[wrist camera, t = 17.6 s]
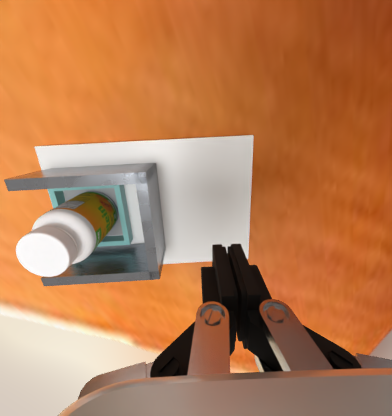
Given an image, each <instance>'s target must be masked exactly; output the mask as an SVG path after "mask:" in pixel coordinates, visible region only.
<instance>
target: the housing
mask: <svg viewBox="0 0 392 416" xmlns="http://www.w3.org/2000/svg"><path fill="white" fill-rule="evenodd" d="M4 181H5V183H6V186H7V189H8V191H18V190H36V189H54V188H73V187H91V186H109V185H127V184H136V190H137V197H138V203H139V210H140V216H141V223H142V229H143V236H144V243H142V244H130V245H117V246H100V247H96V248H95V249H94V251H93V252H92V253H91V254H90V255H89V256H88V257H87V258H86V259H84V260H82V261H81V262H78V263H75V264H71V265H70V266H69V267H68V268H67V269H66V270H65V271H64V272H63V273H61V274H59V275H57V276H53V277H44V276H43V277H42V278H41V280H42V282H43V285H44V286H55V285H71V284H88V283H104V282H121V281H137V280H154V279H160V276H161V271H162V266H163V261H164V256H165V251H166V245H165V236H164V228H163V219H162V210H161V201H160V192H159V184H158V175H157V166H156V163H141V164H122V165H104V166H85V167H67V168H49V169H45V170H41V171H37V172H33V173H29V174H25V175H21V176H17V177H13V178H9V179H5V180H4Z"/></svg>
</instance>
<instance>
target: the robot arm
mask: <svg viewBox="0 0 392 416" xmlns="http://www.w3.org/2000/svg"><path fill="white" fill-rule="evenodd" d="M201 277H202V298H203V304H202V305H201V306H200V307H199V308H198V311H197V314H196V321H195V322H194V323H193V324H192V325H191V326H190V327H189V328H188V329H186V330H185V331H184V332H183V333H182V334H181V335H180V336H179V337H178V338H177V339H176V340H175V341H174V342H173V343H172V344H171V345H170V346H168V347H167V348H166V349H165V350H164V351H163V352H162V353H161V354H160V355H159V356H158V357H157V359H155V361H154V362H152V363H148V364H146V363H145V362H142V363H139V364H135V365H132V366H129V367H125V368H122V369H119V370H115V371H112V372H108V373H105V374H101V375H98V376H96V377H94V378H92V379H91V380H90V381H89V382H87V383H86V385H85V386H84V388H83V389H82V390H81V392H80V395H79V397H78V400H77V401H76V402H74V403H72V404H71V405H70V406H68V407H67V408H66V409H65V410H63V411H62V412H61V413H60V414H59V415H58V416H392V360H390V359H385V358H379V357H374V356H368V355H363V354H358V353H356V355H355V356H353V355H351V354H350V353H349V352H348V351H346V350H345V349H343V348H341V347H340V346H338V345H336V344H335V343H333V342H331V341H329V340H328V339H326V338H324V337H323V336H321V335H319V334H317V333H316V332H314V331H312V330H310V329H309V328H307V327H305V326H304V325H302V324H301V323H300V321H299V320H298V318H297V317H296V316H295V314H294V313H293V311H292V310H291V309H290V308H289V306H288V305H286V304H285V303H283V302H281V301H279V300H275V299H272V298H271V296H270V294H269V291H268V289H267V287H266V285H265V283H264V280H263V278H262V276H261V274H260V271H259V269H258V267H257V266H256V265H249V263H248V261H247V258H246V256H245V253H244V251H243V248H242V246H241V244H231V246H228V249H227V251H226V247H222V244H215V245H212V267H201ZM236 332H237V337H238V341H242V342H243V347H244V349H248V350H249V351H251V352H252V353H253V354H254V358H255V361H256V364H257V366H258V369H259V371H260V372H254V373H230V355H231V354H232V353H233V351H234V349H235V341H236Z"/></svg>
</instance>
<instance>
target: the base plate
mask: <svg viewBox="0 0 392 416" xmlns="http://www.w3.org/2000/svg"><path fill="white" fill-rule="evenodd" d="M253 139H254V135H243V136H223V137H204V138H185V139H166V140H147V141H128V142H109V143H90V144H71V145H52V146H36V147H35V150H36V153H37V157H38V160H39V163H40V166H41V170H45V169H49V168H67V167H85V166H104V165H122V164H141V163H156V166H157V175H158V184H159V192H160V201H161V210H162V219H163V228H164V236H165V245H166V251H165V256H164V261H163V264H172V263H189V262H205V261H212V245H215V244H222V247H226V251H227V249H228V246H231V244H241V246H242V248H243V251H244V253H245V256H246V258H247V259H248V252H249V229H250V207H251V184H252V162H253ZM88 191H95V192H100V193H102V194H105V195H106V196H108V197H109V198H110V199H111V200H112V201H113V202H114V204H115V206H116V208H117V212H118V217H117V221H116V223H115V225H114V226H113V228H112V229H111V230H110V231H109V232H108V234H107V235H106V236H105V237H104V239H103V240H102V241H101V242H100V243H99V244H98V246H97V247H100V246H117V245H130V244H142V243H144V236H143V229H142V223H141V216H140V210H139V203H138V197H137V190H136V184H127V185H109V186H91V187H73V188H54V189H48V193H49V196H50V199H51V202H52V206H53V209H54V208H56V207H57V206H59V205H61V204H63V203H65V202H66V201H68V200H70V199H72V198H74V197H75V196H77V195H79V194H81V193H84V192H88Z"/></svg>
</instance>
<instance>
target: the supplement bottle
mask: <svg viewBox="0 0 392 416" xmlns="http://www.w3.org/2000/svg"><path fill="white" fill-rule="evenodd" d="M117 217H118V212H117V208H116V206H115V204H114V202H113V201H112V200H111V199H110V198H109V197H108V196H106V195H105V194H102V193H100V192H95V191H88V192H84V193H81V194H79V195H77V196H75V197H74V198H72V199H70V200H68V201H66V202H65V203H63V204H61V205H59V206H57V207H56V208H54V209H52V210H50V211H48V212H46V213H45V214H43V215H42V216H40V217H39V218H38V219H37V220H36V222H35V223H34V225H33V228H32V231H31V232H29V233H28V234H26V235H25V236H23V237H22V238H21V239H20V240H19V242H18V244H17V247H16V254H17V258H18V260H19V262H20V263H21V264H22V265H23V267H25V268H26V269H27V270H28V271H30V272H32V273H34V274H36V275H39V276H44V277H53V276H57V275H59V274H61V273H63V272H64V271H65V270H66V269H67V268H68V267H69V266H70V265H71V264H75V263H78V262H81V261H82V260H84V259H86V258H87V257H88V256H89V255H90V254H91V253H92V252H93V251H94V249H95V248H96V247H97V246H98V244H99V243H100V242H101V241H102V240H103V239H104V237H105V236H106V235H107V234H108V232H109V231H110V230H111V229H112V228H113V226H114V225H115V223H116V221H117Z"/></svg>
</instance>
